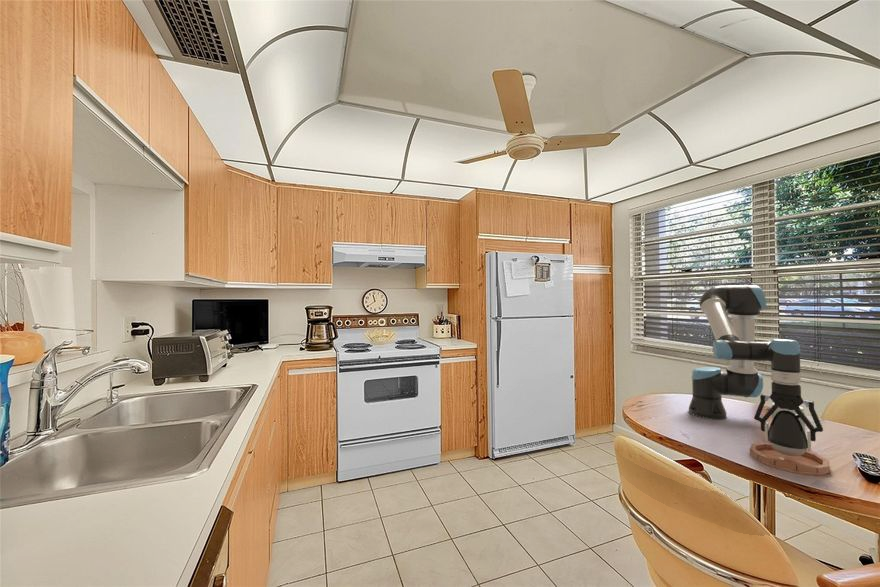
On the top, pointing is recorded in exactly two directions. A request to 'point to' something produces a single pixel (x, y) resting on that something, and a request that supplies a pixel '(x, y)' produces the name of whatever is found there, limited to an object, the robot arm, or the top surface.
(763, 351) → the robot arm
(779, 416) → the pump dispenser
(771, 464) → the round tray
